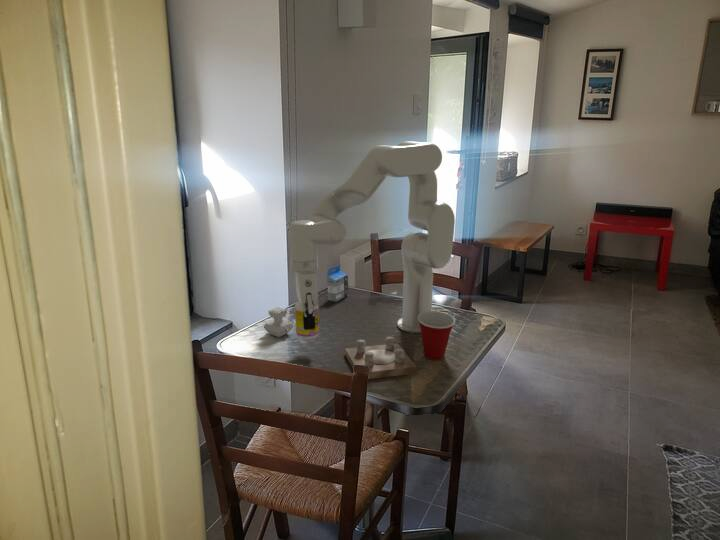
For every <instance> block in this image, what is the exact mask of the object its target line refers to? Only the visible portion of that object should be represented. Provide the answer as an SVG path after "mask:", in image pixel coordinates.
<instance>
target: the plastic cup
mask: <svg viewBox="0 0 720 540" xmlns="http://www.w3.org/2000/svg"><path fill="white" fill-rule="evenodd" d="M417 319H418V321H419V325H420V329H421V333H420V335H421V336H420V337H421V345H422V350H423V356H424V355H425V356H424V357H425V358H426V359H428V360H432V361H439V360H442V359H444V357H445V354H446V350H447V347H448V344H449V339H450V335H451V332H452V329H453V327H454V325H455V324H456V319H455V317H454V316H453V315H451V314H449V313H447V312H443V311H436V310H431V311H426V312H423V313H421V314H419V315H418V318H417Z"/></svg>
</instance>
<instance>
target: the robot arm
mask: <svg viewBox="0 0 720 540" xmlns="http://www.w3.org/2000/svg"><path fill="white" fill-rule="evenodd" d="M442 161H443V153H442V151H441V149H440V147H439V146H438V145H437V144H434V143H432V142H422V141H421V142H420V141H411V140H410V141H409V140H408V141H407V140H406V141H402V142H399V143H398V144H397V145H382V144H379V145H375V146H373V147H371V148H370V150H368V152H367V153H366V154H365V156H364V157H363V158H362V160H361V161H360V162H359V164H358V165H357V166H356V168H355V169H354V170H353V171H352V173H351V174H350V175H349V177H348V178H347V180H345V182H344V183H341V184H340V185H339V186H338V187H336V188H335V189H333V190H332V191H331V192H329V193H328V194H327V195H325V196H324V197H323V198H322V199H321V200H320V201H319V202H318V204H317V205H316V206H315V207H314V209H313V210H312V211H311V213H310V214H309V216H308V217H307V219H303V220H302V219H300V220H295V221H292V222H290V224H289V226H288V232H289V233H288V234H289V251H290V267H291V268H290V271H291V272H292V273H294V275H295V288H296V289H295V290H296V297H297V300H298V301H299V302H300V305H301V306H302V307H303V309H304V316H303V322H304V330H309V329H315V315H314V307H313V303H314V305H316V306H318V307H319V295H318V283H317V274H316V272H317V271H318V270H319V259H318V258H319V257H318V254H319V253H318V247H329V246H330V247H333V246H337V245H339V244H341V243H342V242H343V241H344V240H345V239H346V236H347V228H346V226H345V225H344V223H343V222H341V220H338V219H337V217H339V216H340V215H341V214H342V213H343V212H345V211H346V210H348V209H350V208H353V207H356V206H359V205H362V204H364V203H367V202H368V201H370V199H371V198H372V197H373V195H374V194H375V192H376V191H377V190H378V189H379V187H380V186H381V185H382V183H383V182H384V180H385V179H386V178H387V177H392V178H406V177H407V178H408V182H409V198H408V211H407V214H408V215H407V218H408V222H409V224H410V226H413V227H414V228H416V229H420V230H423V231H427V233H425V232H421V231H413V232H410V233H408V234H407V235H406V236H405V237H403V240H402V242H401V257H402V263H403V265H402V266H403V281H402V283H403V285H402V312H401V313H402V315H401V316H402V317H401V318H399V319H398V320H397V322H396V325H397V327H398V329H400V330H401V331H405V332H407V333H413V334H414V333H415V334H421V329H420V325H419V321H418V319H417V318H418V315H419V314H421V313H423V312H426V311H432V310H433V309H432V308H433V307H432V305H433V283H434V272H433V269H434V270H435V269H436V270H438V269H439V270H440V269H443V268H444V267H446V266H447V265H448V263H449V262H450V260H451V257H452V253H453V245H454V235H455V234H454V233H455V225H456V224H455V221H456V219H455V213H454V210H453V209H452V207H451V206H450V205H449V204H448V203H446V202H443V201H440V200H439V201H438V179H437V174H436V170H437V169H439V167H440V166H441V165H442ZM298 298H299V299H298ZM305 304H307V306H305ZM306 308H308V310H307V311H306Z"/></svg>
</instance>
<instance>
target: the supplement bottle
mask: <svg viewBox="0 0 720 540" xmlns="http://www.w3.org/2000/svg"><path fill="white" fill-rule="evenodd" d="M298 299H299V298H297V300H298ZM305 306H307V304H305ZM313 307H314V315H315V329H309V330H304V322H303V316H304V309H303V307H302V306H301V305H300V302H299V300H298V301H297V302H296V303H295V305H294V311H295V313H294V314H295V315H294V316H295V333H296V337H297V338H299V339H301V340H314V339H316V338H317V337H319V334H320V323H319V322H320V319H319V318H320V317H319V316H320V315H319V305H318V306H316V305H314V303H313ZM307 310H308V308H306V311H307Z"/></svg>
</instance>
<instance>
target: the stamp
mask: <svg viewBox="0 0 720 540" xmlns="http://www.w3.org/2000/svg"><path fill="white" fill-rule="evenodd" d="M287 314H288V310H287V309H285V308H281V307H278V306H277V307H275V308H272V309H270V310H268V315H269V316H270V317H271V318H273V319H274V320H272V321H269V322H266V323H265V324H264V326H263V329H264V330H265V331H266V332H267V333H268V334H269V335H271V336H273V337H277V338H280V337H282V336H285V335H288V334H290V332H291V330H292V329H294V325H293V323H292V322H290V321H287V320H284V319H283V318H284V317H287Z"/></svg>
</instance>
